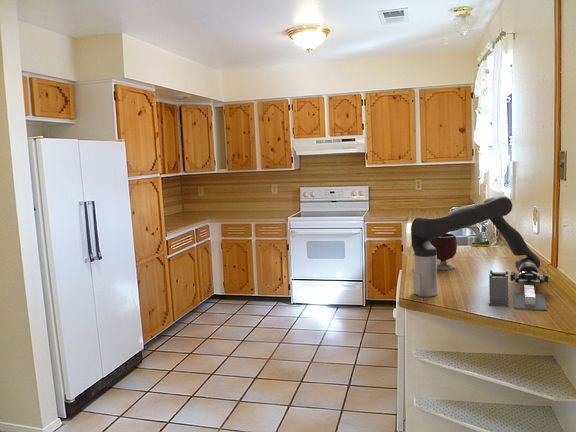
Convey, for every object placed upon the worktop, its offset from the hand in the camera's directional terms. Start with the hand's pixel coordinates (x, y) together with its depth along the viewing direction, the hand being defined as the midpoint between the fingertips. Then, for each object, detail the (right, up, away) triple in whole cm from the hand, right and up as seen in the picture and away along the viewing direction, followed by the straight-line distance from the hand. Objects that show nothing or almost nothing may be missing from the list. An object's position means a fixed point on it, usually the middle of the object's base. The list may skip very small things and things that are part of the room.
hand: (529, 281), depth 202 cm
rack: (-15, -8, -5) cm, 17 cm away
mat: (-3, -7, -7) cm, 11 cm away
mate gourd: (-17, -1, +60) cm, 62 cm away
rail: (-3, -6, -6) cm, 9 cm away
